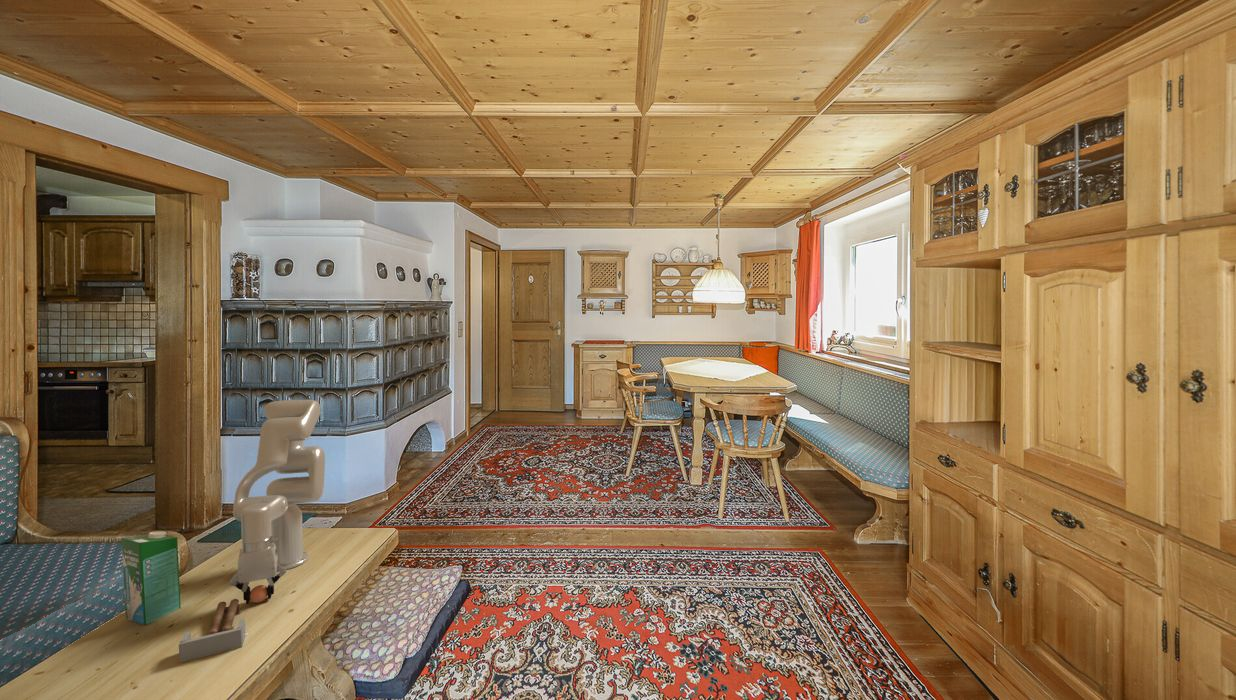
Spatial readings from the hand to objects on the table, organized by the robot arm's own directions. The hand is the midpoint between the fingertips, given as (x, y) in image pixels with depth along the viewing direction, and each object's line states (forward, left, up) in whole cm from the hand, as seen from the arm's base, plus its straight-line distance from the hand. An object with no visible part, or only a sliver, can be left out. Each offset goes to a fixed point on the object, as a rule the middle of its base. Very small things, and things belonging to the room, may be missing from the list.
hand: (259, 598), depth 152 cm
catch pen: (+21, -7, -1) cm, 22 cm away
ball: (0, 0, +2) cm, 2 cm away
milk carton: (-7, -27, -1) cm, 28 cm away
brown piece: (+9, -7, -1) cm, 11 cm away
